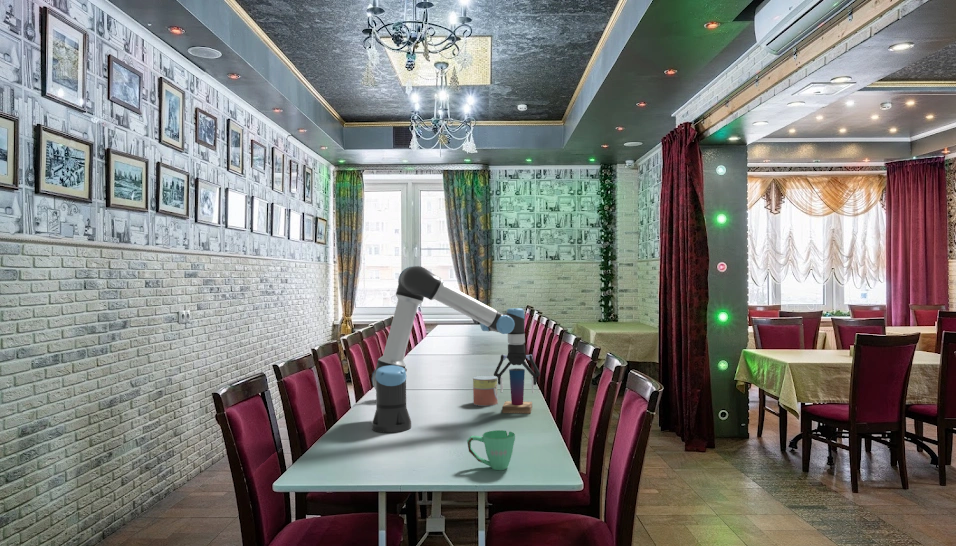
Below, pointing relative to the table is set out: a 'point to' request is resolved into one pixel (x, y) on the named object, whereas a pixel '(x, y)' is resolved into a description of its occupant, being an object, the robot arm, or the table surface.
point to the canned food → (485, 390)
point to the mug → (495, 448)
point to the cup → (517, 385)
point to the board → (517, 407)
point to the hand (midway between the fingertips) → (517, 392)
